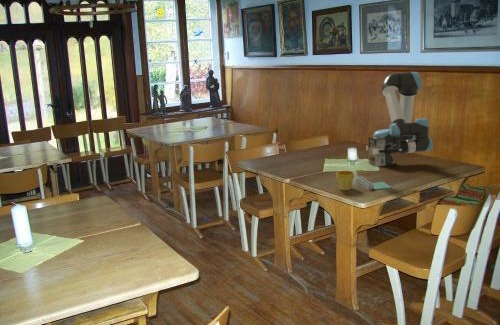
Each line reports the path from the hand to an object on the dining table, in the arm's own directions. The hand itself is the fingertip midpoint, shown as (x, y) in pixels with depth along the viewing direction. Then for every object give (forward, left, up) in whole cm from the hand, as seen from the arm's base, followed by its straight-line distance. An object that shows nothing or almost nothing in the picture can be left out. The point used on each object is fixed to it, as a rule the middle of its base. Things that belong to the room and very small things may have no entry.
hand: (369, 150), depth 294 cm
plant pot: (+15, +1, -22) cm, 27 cm away
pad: (-5, +3, -22) cm, 22 cm away
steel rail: (+2, -2, -22) cm, 22 cm away
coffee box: (-4, 0, -9) cm, 10 cm away
